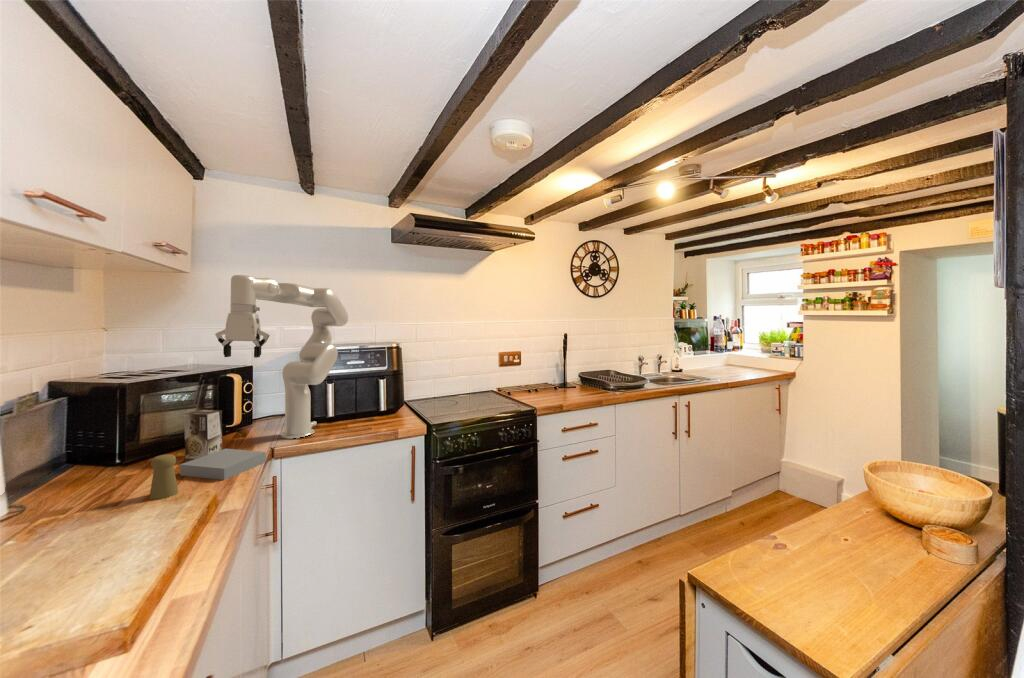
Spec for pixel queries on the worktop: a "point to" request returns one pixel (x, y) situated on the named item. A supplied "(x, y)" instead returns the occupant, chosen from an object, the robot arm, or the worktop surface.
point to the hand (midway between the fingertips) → (242, 357)
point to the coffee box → (202, 433)
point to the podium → (222, 464)
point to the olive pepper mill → (163, 477)
